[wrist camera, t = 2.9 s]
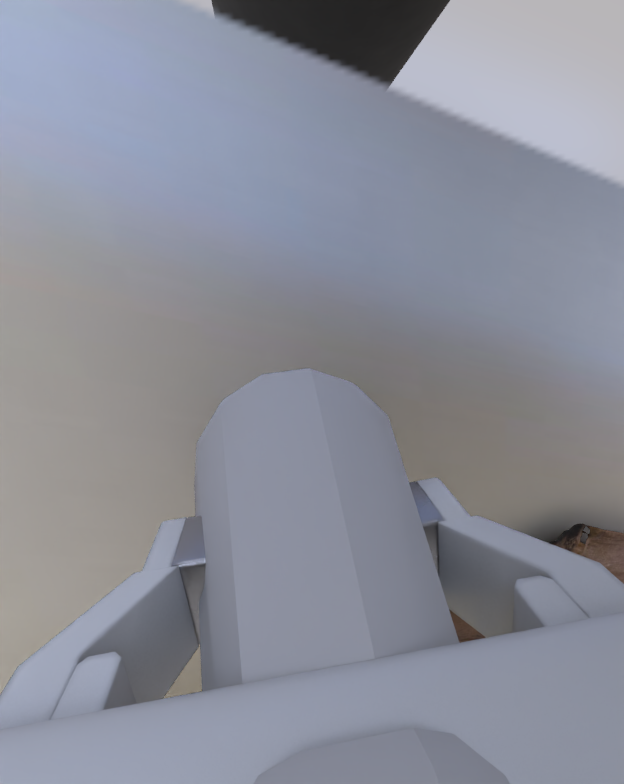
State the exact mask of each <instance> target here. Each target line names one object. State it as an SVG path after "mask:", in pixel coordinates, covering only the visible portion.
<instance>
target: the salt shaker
mask: <svg viewBox="0 0 624 784" xmlns="http://www.w3.org/2000/svg"><path fill="white" fill-rule="evenodd" d="M194 490H195V516H201V517H202V525H203V535H204V545H205V555H206V568H205V584H204V589H203V592H202V595H201V598H200V601H199V622H200V649H201V675H202V691H207V690H212V689H218V688H223V687H228V686H234V685H239V684H244V683H249V682H255V681H260V680H265V679H271V678H276V677H281V676H287V675H292V674H297V673H303V672H308V671H313V670H318V669H324V668H329V667H334V666H339V665H345V664H350V663H355V662H361V661H366V660H372V659H377V658H381V657H386V656H392V655H397V654H402V653H408V652H413V651H418V650H423V649H429V648H434V647H439V646H445V645H450V644H455V643H459V640H458V637H457V633H456V630H455V627H454V624H453V621H452V617H451V614H450V611H449V608H448V605H447V602H446V598H445V595H444V592H443V589H442V586H441V583H440V579H439V576H438V573H437V570H436V567H435V564H434V560H433V557H432V554H431V551H430V548H429V544H428V541H427V538H426V535H425V532H424V529H423V525H422V522H421V519H420V516H419V513H418V510H417V506H416V503H415V500H414V497H413V494H412V491H411V487H410V484H409V481H408V478H407V475H406V471H405V468H404V465H403V462H402V459H401V456H400V452H399V449H398V446H397V443H396V440H395V437H394V433H393V430H392V427H391V424H390V421H389V417H388V415H387V414H386V413H385V412H384V411H383V410H382V409H381V408H379V407H378V406H377V405H376V404H375V403H374V402H373V401H372V400H371V399H370V398H369V397H368V396H367V395H366V394H365V393H364V392H363V391H362V390H361V389H360V388H359V387H358V386H357V385H355V384H353V383H352V382H350V381H346V380H343V379H340V378H337V377H334V376H331V375H328V374H325V373H322V372H319V371H316V370H313V369H310V368H305V369H297V370H290V371H282V372H275V373H267V374H262V375H260V376H259V377H257V378H256V379H254V380H253V381H251V382H249V383H248V384H246V385H245V386H243V387H242V388H240V389H238V390H237V391H235V392H234V393H232V394H231V395H229V396H227V397H226V398H224V399H223V401H222V402H221V403H220V405H219V406H218V408H217V410H216V411H215V413H214V415H213V416H212V418H211V420H210V421H209V423H208V425H207V426H206V428H205V430H204V431H203V433H202V435H201V436H200V438H199V440H198V441H197V444H196V464H195V484H194ZM254 784H510V783H509V781H508V779H507V778H506V776H505V775H504V774H503V773H502V772H500V771H499V770H498V769H497V768H495V767H494V766H493V765H492V764H491V763H489V762H488V761H487V760H486V759H484V758H483V757H482V756H481V755H479V754H478V753H477V752H476V751H474V750H473V749H472V748H471V747H469V746H468V745H467V744H466V743H465V742H463V741H462V740H461V739H460V738H458V737H457V736H456V735H455V734H452V733H445V732H439V731H432V730H426V729H419V728H409V729H404V730H399V731H395V732H390V733H385V734H381V735H376V736H371V737H367V738H362V739H357V740H353V741H348V742H343V743H339V744H334V745H330V746H325V747H320V748H316V749H311V750H306V751H302V752H300V753H298V754H296V755H294V756H292V757H291V758H289V759H287V760H285V761H284V762H282V763H280V764H278V765H276V766H275V767H273V768H271V769H269V770H267V771H266V772H264V773H262V774H260V775H258V777H257V779H256V780H255V782H254Z"/></svg>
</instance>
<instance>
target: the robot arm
mask: <svg viewBox="0 0 624 784" xmlns="http://www.w3.org/2000/svg"><path fill="white" fill-rule="evenodd" d="M409 484H410V487H411V491H412V494H413V497H414V500H415V503H416V506H417V510H418V513H419V516H420V519H421V522H422V525H423V529H424V532H425V535H426V538H427V541H428V544H429V548H430V551H431V554H432V557H433V560H434V564H435V567H436V570H437V573H438V576H439V579H440V583H441V586H442V589H443V592H444V595H445V598H446V602H447V605H448V608H449V609H450V610H451V611H452V612H453V613H455V614H456V615H457V616H459V617H460V618H461V619H463V620H464V621H465V622H466V623H468V624H469V625H470V626H472V627H473V628H474V629H476V630H477V631H478V632H480V633H481V634H482V635H483V636H485V637H486V638H482V639H477V640H471V641H466V642H461V643H455V644H450V645H445V646H439V647H434V648H429V649H423V650H418V651H413V652H408V653H402V654H397V655H392V656H386V657H381V658H377V659H372V660H366V661H361V662H355V663H350V664H345V665H339V666H334V667H329V668H324V669H318V670H313V671H308V672H303V673H297V674H292V675H287V676H281V677H276V678H271V679H265V680H260V681H255V682H249V683H244V684H239V685H234V686H228V687H223V688H218V689H212V690H207V691H202V692H196V693H191V694H186V695H180V696H175V697H170V698H164V699H163V697H164V696H165V694H166V693H167V692H168V690H169V689H170V687H171V686H172V684H173V683H174V681H175V680H176V679H177V677H178V676H179V674H180V673H181V671H182V670H183V668H184V667H185V666H186V664H187V663H188V661H189V660H190V658H191V657H192V655H193V654H194V652H195V651H196V650H197V648H198V647H199V645H198V644H200V622H199V601H200V598H201V595H202V592H203V589H204V584H205V568H206V555H205V545H204V535H203V525H202V517H201V516H194V517H188V518H186V517H185V518H179V519H174V520H168V521H164V522H162V523H161V525H160V527H159V530H158V532H157V535H156V537H155V540H154V542H153V545H152V547H151V550H150V552H149V554H148V557H147V559H146V562H145V564H144V567H143V569H142V572H136V573H133V574H132V575H131V576H130V577H128V578H127V579H126V580H125V581H123V582H122V583H121V584H120V585H119V586H117V587H116V588H115V589H114V590H112V591H111V592H110V593H109V594H107V595H106V596H105V597H104V598H102V599H101V600H100V601H99V602H97V603H96V604H95V605H94V606H92V607H91V608H90V609H89V610H87V611H86V612H85V613H84V614H82V615H81V616H80V617H79V618H78V619H76V620H75V621H74V622H73V623H71V624H70V625H69V626H68V627H66V628H65V629H64V630H63V631H61V632H60V633H59V634H58V635H56V636H55V637H54V638H53V639H51V640H50V641H49V642H48V643H46V644H45V645H44V646H43V647H41V648H40V649H39V650H38V651H37V652H35V653H34V654H33V655H32V656H30V657H29V658H28V659H27V660H25V661H24V662H23V663H22V664H20V665H19V666H18V667H17V669H16V670H15V672H14V673H13V675H12V677H11V678H10V680H9V682H8V683H7V685H6V686H5V688H4V690H3V691H2V693H1V695H0V784H254V782H255V780H256V779H257V777H258V775H260V774H262V773H264V772H266V771H267V770H269V769H271V768H273V767H275V766H276V765H278V764H280V763H282V762H284V761H285V760H287V759H289V758H291V757H292V756H294V755H296V754H298V753H300V752H302V751H306V750H311V749H316V748H320V747H325V746H330V745H334V744H339V743H343V742H348V741H353V740H357V739H362V738H367V737H371V736H376V735H381V734H385V733H390V732H395V731H399V730H404V729H409V728H419V729H426V730H432V731H439V732H445V733H452V734H455V735H456V736H457V737H458V738H460V739H461V740H462V741H463V742H465V743H466V744H467V745H468V746H469V747H471V748H472V749H473V750H474V751H476V752H477V753H478V754H479V755H481V756H482V757H483V758H484V759H486V760H487V761H488V762H489V763H491V764H492V765H493V766H494V767H495V768H497V769H498V770H499V771H500V772H502V773H503V774H504V775H505V776H506V778H507V779H508V781H509V783H510V784H624V584H623V583H622V582H621V581H620V580H619V579H617V578H616V577H615V576H614V575H613V574H612V573H611V572H610V571H608V570H607V569H606V568H605V567H604V566H603V565H602V564H601V563H599V562H596V561H593V560H591V559H588V558H586V557H583V556H581V555H578V554H575V553H573V552H570V551H568V550H565V549H563V548H560V547H558V546H555V545H552V544H550V543H547V542H545V541H542V540H540V539H537V538H534V537H532V536H529V535H527V534H524V533H522V532H519V531H516V530H514V529H511V528H509V527H506V526H504V525H501V524H498V523H496V522H493V521H491V520H488V519H486V518H483V517H480V516H470V515H469V513H468V512H467V511H466V510H465V509H464V507H463V506H462V505H461V504H460V503H459V501H458V500H457V499H456V498H455V497H454V496H453V494H452V493H451V492H450V491H449V490H448V488H447V487H446V486H445V485H444V484H443V482H442V481H441V480H440V479H439V478H436V477H435V478H430V479H425V480H420V481H415V482H410V483H409Z"/></svg>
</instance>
